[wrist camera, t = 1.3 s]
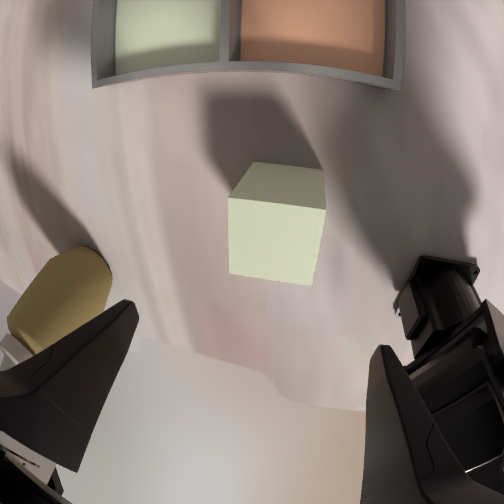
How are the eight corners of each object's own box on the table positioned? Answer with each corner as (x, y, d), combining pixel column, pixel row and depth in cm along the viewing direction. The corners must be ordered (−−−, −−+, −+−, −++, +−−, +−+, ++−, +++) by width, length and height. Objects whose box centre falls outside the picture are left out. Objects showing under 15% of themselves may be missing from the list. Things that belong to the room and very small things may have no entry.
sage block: (323, 169, 17) (326, 209, 12) (314, 229, 20) (311, 285, 15) (253, 161, 18) (227, 197, 13) (251, 221, 20) (229, 273, 15)
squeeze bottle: (61, 228, 25) (-47, 343, 11) (116, 247, 25) (0, 398, 10) (75, 281, 30) (-5, 389, 16) (126, 303, 29) (46, 433, 15)
